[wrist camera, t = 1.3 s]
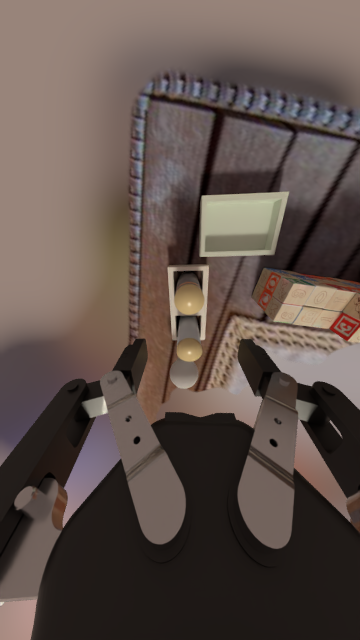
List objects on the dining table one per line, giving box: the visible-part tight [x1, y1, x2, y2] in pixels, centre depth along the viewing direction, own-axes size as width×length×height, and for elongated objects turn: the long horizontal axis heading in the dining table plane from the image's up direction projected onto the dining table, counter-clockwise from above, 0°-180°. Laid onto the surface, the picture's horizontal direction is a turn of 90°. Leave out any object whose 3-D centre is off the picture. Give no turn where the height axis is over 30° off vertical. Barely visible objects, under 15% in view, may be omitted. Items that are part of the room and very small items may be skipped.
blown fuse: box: [174, 272, 205, 315], centre depth 25 cm, size 4×4×11 cm
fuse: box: [177, 315, 202, 362], centre depth 28 cm, size 4×4×11 cm
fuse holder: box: [168, 264, 209, 340], centre depth 30 cm, size 7×15×3 cm, turn 2°
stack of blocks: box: [252, 268, 360, 343], centre depth 24 cm, size 21×6×12 cm, turn 82°
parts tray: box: [199, 192, 289, 257], centre depth 24 cm, size 12×8×3 cm, turn 92°
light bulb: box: [170, 357, 198, 388], centre depth 33 cm, size 6×6×10 cm
